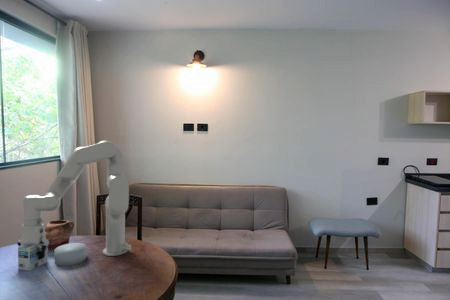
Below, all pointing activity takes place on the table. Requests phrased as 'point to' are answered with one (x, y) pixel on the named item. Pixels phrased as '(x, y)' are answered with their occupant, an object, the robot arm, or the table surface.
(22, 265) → the light bulb box
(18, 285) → the table surface
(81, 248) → the smooth grey ovoid
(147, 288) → the table surface
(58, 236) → the orange-brown clay pot
